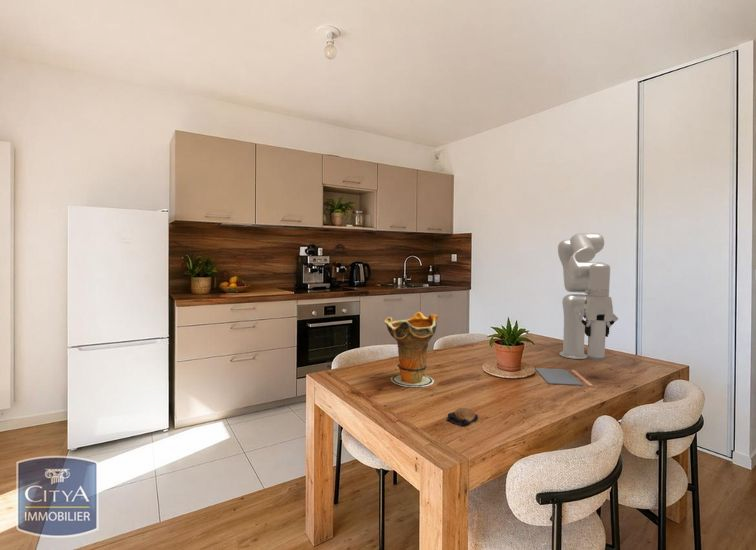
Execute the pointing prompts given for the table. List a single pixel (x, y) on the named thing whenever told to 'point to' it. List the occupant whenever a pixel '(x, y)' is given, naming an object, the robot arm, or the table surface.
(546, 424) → the table surface
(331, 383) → the table surface
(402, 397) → the table surface
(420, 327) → the decorative vase
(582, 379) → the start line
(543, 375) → the mat
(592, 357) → the travel mug
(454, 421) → the brown black rock
